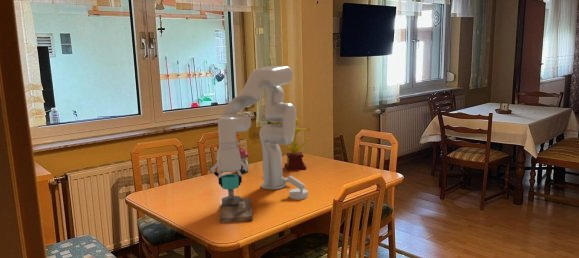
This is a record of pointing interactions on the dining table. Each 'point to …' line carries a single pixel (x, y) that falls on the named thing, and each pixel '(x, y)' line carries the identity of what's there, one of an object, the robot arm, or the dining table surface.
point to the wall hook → (297, 193)
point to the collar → (230, 181)
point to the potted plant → (295, 153)
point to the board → (235, 208)
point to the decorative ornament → (243, 158)
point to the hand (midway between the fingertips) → (230, 185)
